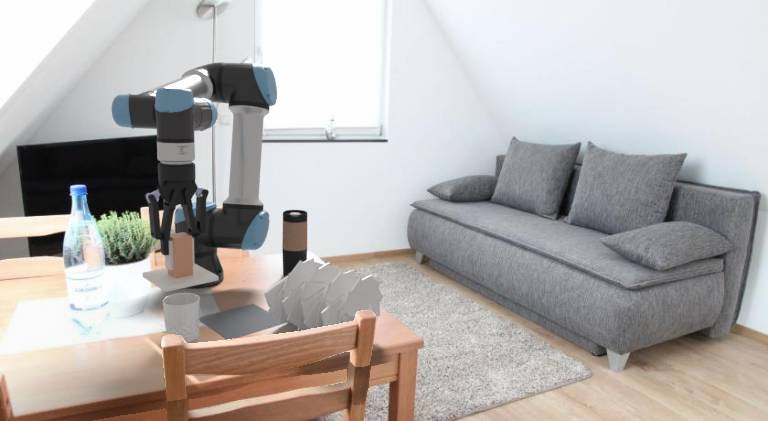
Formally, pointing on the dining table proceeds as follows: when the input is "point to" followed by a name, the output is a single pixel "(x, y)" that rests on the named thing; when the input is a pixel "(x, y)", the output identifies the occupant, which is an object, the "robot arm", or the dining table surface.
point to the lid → (180, 267)
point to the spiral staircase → (321, 296)
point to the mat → (240, 321)
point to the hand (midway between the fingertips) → (180, 266)
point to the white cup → (182, 315)
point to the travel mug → (294, 239)
